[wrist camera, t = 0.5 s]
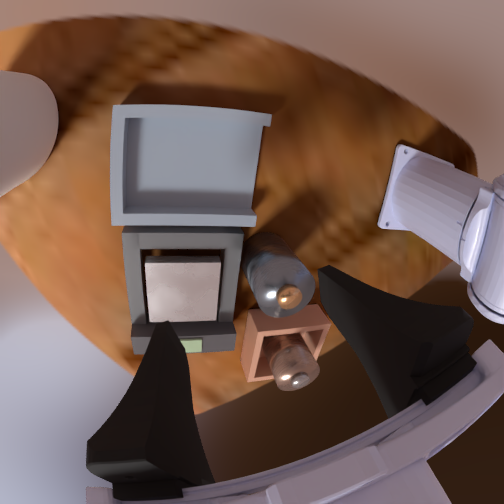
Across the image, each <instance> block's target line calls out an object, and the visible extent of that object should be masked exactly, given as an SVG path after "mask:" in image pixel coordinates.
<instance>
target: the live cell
mask: <svg viewBox="0 0 504 504" xmlns="http://www.w3.org/2000/svg"><path fill="white" fill-rule="evenodd" d="M240 265H241V267H242V269H243V271H244V274H245V276H246V278H247V280H248V283H249V285H250V287H251V289H252V292H253V294H254V296H255V298H256V300H257V303H258V305H259V307H260V309H261V310H262V311H263V312H264V313H265V314H266V315H268V316H271V317H277V318H281V317H287V316H290V315H293V314H295V313H297V312H299V311H300V310H302V309H303V308H304V307H305V306H306V305H307V304H308V303H309V302H310V300H311V298H312V297H313V294H314V291H315V281H314V278H313V276H312V275H311V274H310V272H309V271H308V270H307V268H306V267H305V266H304V265H303V263H302V262H301V261H300V260H299V258H298V257H297V256H296V255H295V253H294V252H293V251H292V250H291V249H290V247H289V246H288V245H287V244H286V242H285V241H284V240H283V239H282V238H281V237H280V236H279V235H277V234H275V233H272V232H262V233H258V234H255V235H253V236H252V237H250V238H249V239H248V240H247V241H246V242H245V243H244V244H243V246H242V252H241V260H240Z"/></svg>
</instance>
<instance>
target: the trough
mask: <svg viewBox="0 0 504 504" xmlns="http://www.w3.org/2000/svg"><path fill="white" fill-rule="evenodd" d="M271 117H272V114H266V113H259V112H252V111H244V110H235V109H226V108H216V107H203V106H187V105H155V104H140V105H113V114H112V128H111V149H110V199H111V222H112V226H116V225H174V226H241V227H255V224H256V218H257V216H256V214H255V213H254V212H253V210H252V209H251V205H252V198H253V191H254V184H255V177H256V170H257V163H258V156H259V149H260V143H261V136H262V129H263V126H269V127H270V124H271Z"/></svg>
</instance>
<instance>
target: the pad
mask: <svg viewBox="0 0 504 504" xmlns="http://www.w3.org/2000/svg"><path fill="white" fill-rule="evenodd" d="M220 269H221V261H220V258H219V256H146V259H145V273H146V287H147V299H148V310H149V319H150V322H164V321H167V320H169V322H184V321H212V320H216V315H217V303H218V291H219V280H220Z"/></svg>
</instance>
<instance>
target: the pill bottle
mask: <svg viewBox="0 0 504 504" xmlns="http://www.w3.org/2000/svg"><path fill="white" fill-rule="evenodd" d="M57 131H58V108H57V103H56V100H55V97H54V94H53V92H52V91H51V89H50V88H49V86H48V85H47V84H46V83H45V82H44V81H43V80H41V79H40V78H38V77H35V76H33V75H30V74H25V73H18V72H11V71H3V70H0V197H1V196H2V195H4V194H6V193H7V192H9V191H10V190H12V189H13V188H15V187H16V186H18V185H20V184H21V183H23V182H25V181H26V180H28V179H29V178H30V177H32V176H33V175H34V174H35V173H36V172H37V171H38V170H39V169H40V168H41V167H42V166H43V164H44V163H45V162H46V160H47V158H48V157H49V155H50V153H51V151H52V149H53V146H54V143H55V140H56V136H57Z"/></svg>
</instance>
